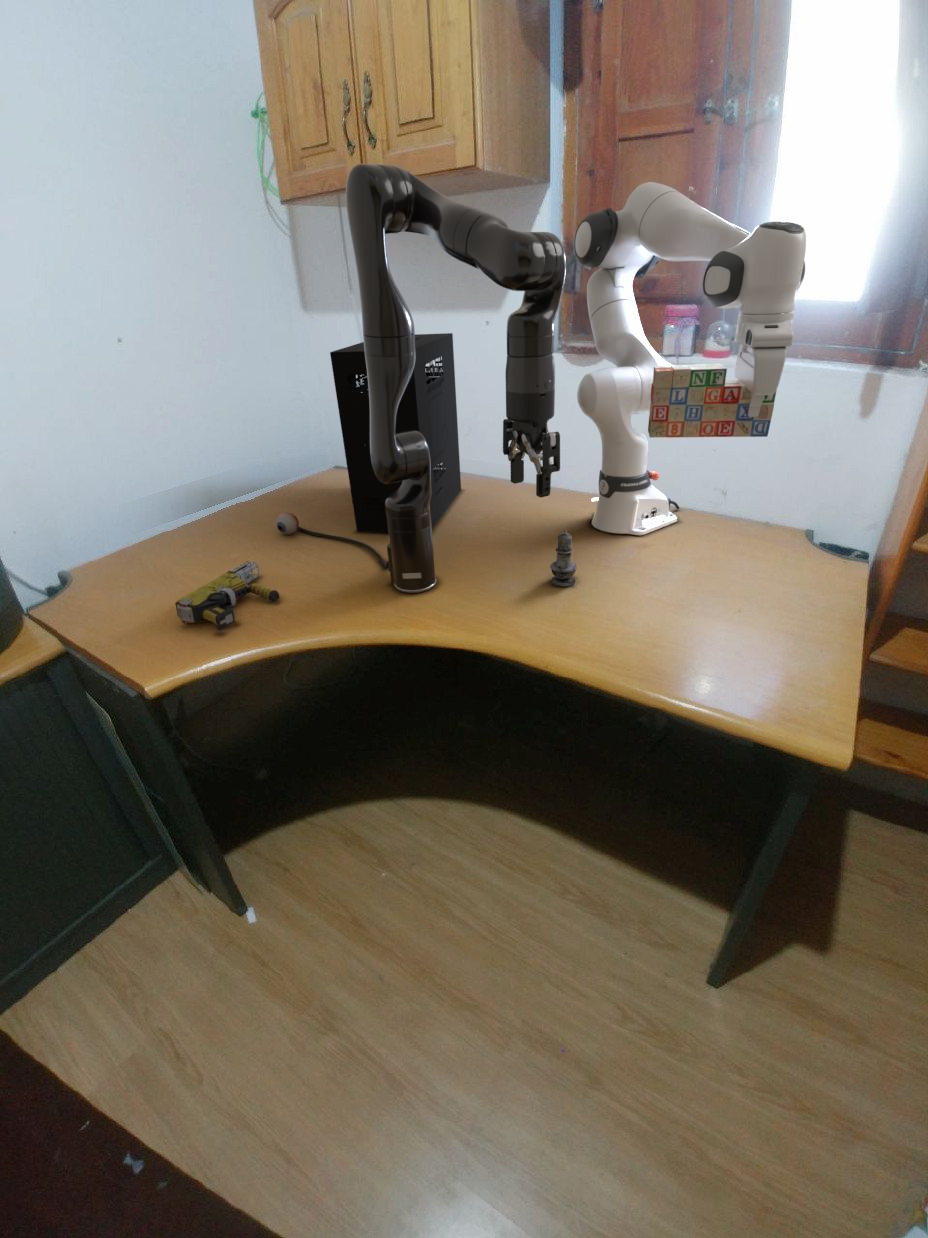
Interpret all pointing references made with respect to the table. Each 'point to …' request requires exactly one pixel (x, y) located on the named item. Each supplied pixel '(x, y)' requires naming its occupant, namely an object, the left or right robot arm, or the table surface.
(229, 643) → the table surface
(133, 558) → the table surface
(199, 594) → the toy gun
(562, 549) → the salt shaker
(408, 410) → the cardboard box
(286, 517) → the eyeball
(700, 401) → the stack of blocks
